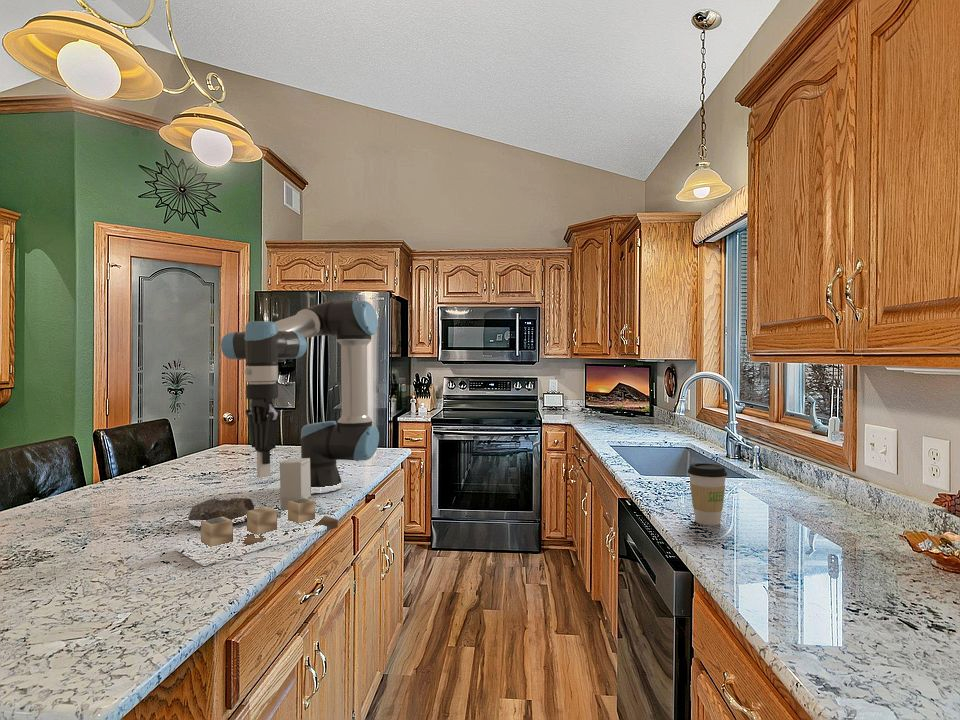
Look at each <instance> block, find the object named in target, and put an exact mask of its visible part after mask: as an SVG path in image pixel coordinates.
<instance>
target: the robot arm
mask: <svg viewBox="0 0 960 720" xmlns="http://www.w3.org/2000/svg"><path fill="white" fill-rule="evenodd" d="M378 319H379V318H378V315H377V312H376V310H375V307H374V306H373V305H372V304H371V303H370V302H369V301H368V300H367V301H366V300H357V299H356V300H346V301H345V300H343V301H326V302H322V303H319V304H316V305H312V306H308V307H307V308H304V309H301V310H299V311H297V313H296V314H295V315H291V316H288V317H286V318H282V319H279V320H276V321H264V320H260V321H258V320H257V321H256V320H254V321H248V322H247V323H246V324H245V327H244V331H241V332H239V331H234V332H227V333H226V334H224V335H223V336H222V339H221V341H220V348H221V352H222V354H223V356H224V357H226V358H227V359H229V360H237V361H241V360H245V370H244V375H245V382H247V384H246V385H245V398H246V399H247V400H250V401H251V403H250V408H248V409H245V414H246V417H247V421H248V428H249V429H248V430H249V438H250V445H251V447H252V448H254V450H255V451H256V478H258V479H259V478H260V479H261V478H266V477H270V476H271V451H272V450H273V449H275V448H276V447H277V437H278V436H277V435H278V426H279V421H280V417H281V411H276V409H275V402H274V399H277V398H278V397H279V384H278V383H277V382H278V381H279V361H278V360H294V359H299V358H301V357H303V356H304V354H306V351H307V349H308V347H307V346H308V343H307V340H306V338H309V339H310V338H314V337H317V336H318V337H320V336H336V342H337V343H338V344H339V345H340V362H341V369H340V372H341V378H340V379H341V416H340V418H339V419H338V420H337V421H336V420H328V421H321V422H320V421H319V422H313V423H308V424H305V425H302V428H301V432H300V454H301V455H300V458H310V482H311V487H325V486H333V485H337V484H339V483H341V482H343V481H342V478H341V475H340V473H339V470H338V467H337V461H342V460H343V461H355V462H359V461H360V462H361V461H369V460H371V458H373V456H374V455H375V454H376V452H377V449H378V447H379V442H380V432H379V429H378V427H377V426H375V425H373V419H372V418H371V417H370V416H369V415H368V414H369V413H368V412H369V411H368V410H369V409H368V407H369V405H368V403H369V402H368V345H369V344H370V343H371V342H372V336H373V335H375V334H376V333H377V332H378V327H379V320H378Z"/></svg>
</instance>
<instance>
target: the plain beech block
mask: <svg viewBox="0 0 960 720" xmlns="http://www.w3.org/2000/svg"><path fill="white" fill-rule="evenodd" d="M277 514H278V513H277V509H275V508H272V507H270V506H268V505H267V506H262V507H257V508H254V509H253V510H249V511H247V519H246V521H247V523H246V525H247V531H249V532H251V533H254V534H257V535H259V534H263V533H266V532H269V531H273V530H277V517H278V516H277Z"/></svg>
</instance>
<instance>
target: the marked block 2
mask: <svg viewBox="0 0 960 720" xmlns="http://www.w3.org/2000/svg"><path fill="white" fill-rule="evenodd" d="M315 513H316V500H314V499H312V498H311V499H308V498H301V499H296V500H292V501H288V520H290V521H293V522H296V523H298V524H299V523H303V522H306V521H310V520H313V519H315Z"/></svg>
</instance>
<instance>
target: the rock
mask: <svg viewBox="0 0 960 720" xmlns="http://www.w3.org/2000/svg"><path fill="white" fill-rule="evenodd" d="M253 509H255V505H254V503H253V500H252V499H251V498H247V497H236V498H230V499H219V498H210V499H207V500H204V501H202V502H201V503H198V504H197V503H196V505H194V506H192V507H191V509H190V511H189V514H188V517H187V519H188V520H187V521H189V520H210V519H214V518H219V517H225V518H228V519H230V520H232V519H235V518H238V517H242V516H244V515H246V514H247V511H249V510H253Z"/></svg>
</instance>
